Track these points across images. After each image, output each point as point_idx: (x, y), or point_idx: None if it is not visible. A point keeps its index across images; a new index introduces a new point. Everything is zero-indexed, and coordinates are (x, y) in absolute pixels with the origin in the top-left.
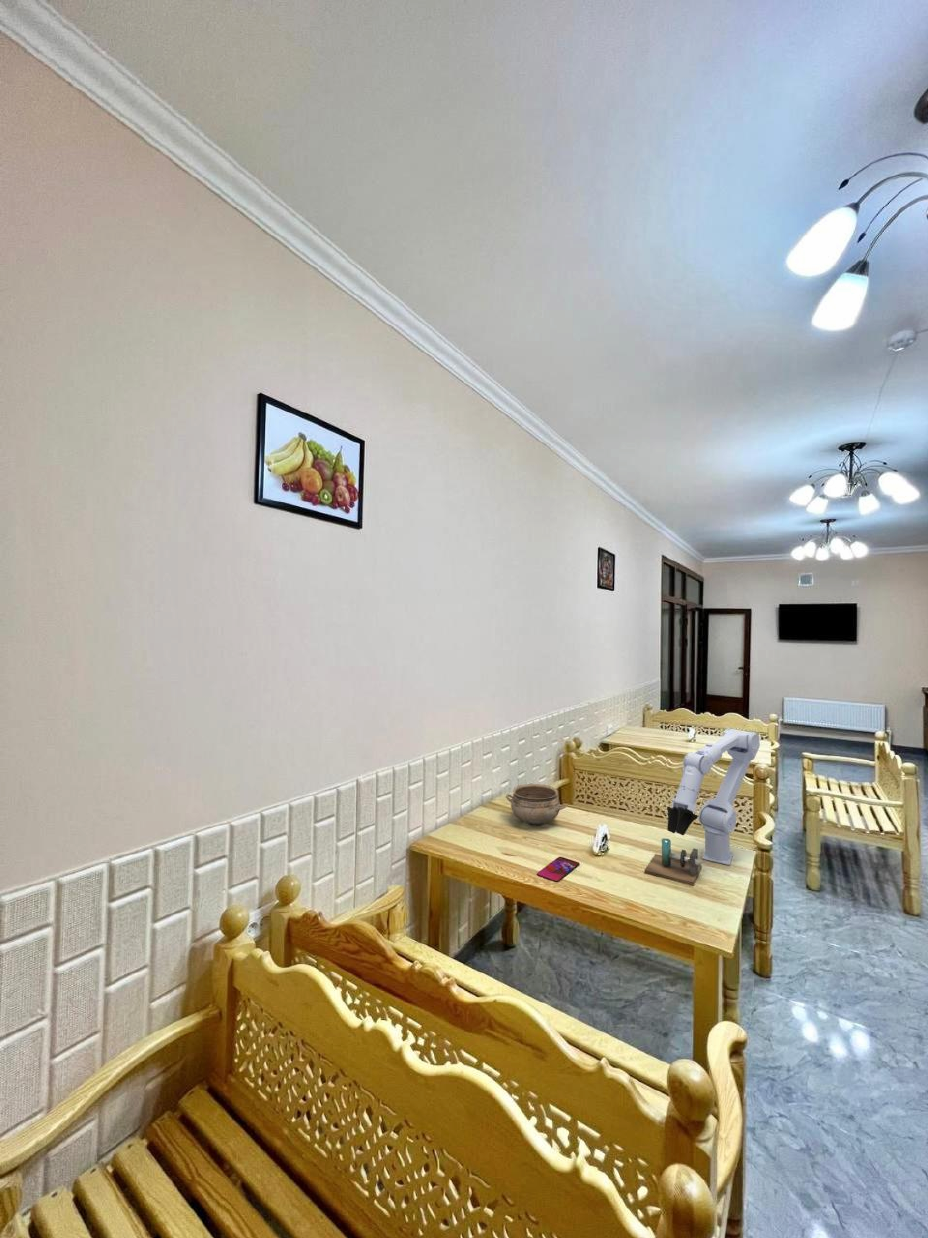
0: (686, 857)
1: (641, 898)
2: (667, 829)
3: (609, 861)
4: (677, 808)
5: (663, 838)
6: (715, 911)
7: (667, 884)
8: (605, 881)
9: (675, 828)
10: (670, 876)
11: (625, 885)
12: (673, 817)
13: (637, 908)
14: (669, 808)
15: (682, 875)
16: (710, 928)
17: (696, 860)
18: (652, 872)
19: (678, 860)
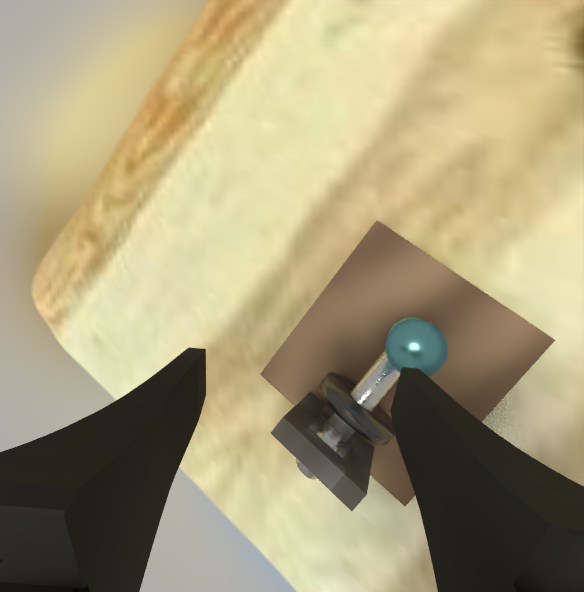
0: (340, 418)
1: (209, 157)
2: (419, 370)
3: (508, 94)
4: (81, 485)
5: (445, 342)
6: (130, 355)
7: (285, 281)
8: (324, 53)
9: (403, 441)
10: (312, 307)
11: (290, 123)
12: (456, 490)
13: (162, 130)
14: (536, 520)
15: (316, 361)
16: (70, 296)
17: None
18: (356, 248)
19: None
